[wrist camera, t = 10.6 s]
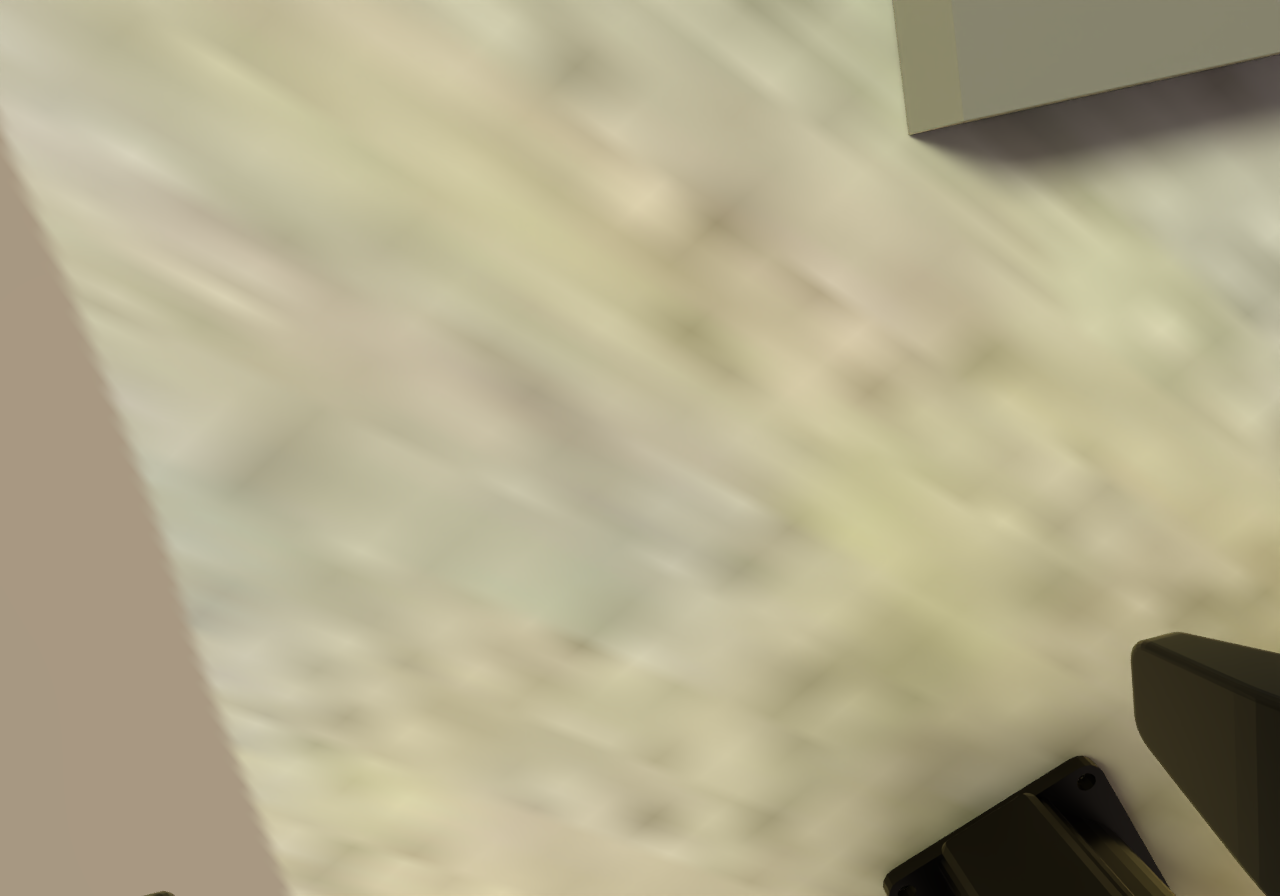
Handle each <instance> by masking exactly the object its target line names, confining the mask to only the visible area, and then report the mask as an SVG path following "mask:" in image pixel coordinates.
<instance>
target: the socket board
mask: <svg viewBox="0 0 1280 896" xmlns="http://www.w3.org/2000/svg"><path fill="white" fill-rule="evenodd" d="M893 9H894V17H895V25H896V33H897V42H898V50H899V58H900V67H901V75H902V83H903V92H904V100H905V108H906V117H907V125H908V133H909V135H912V134H917V133H921V132H926V131H930V130H935V129H940V128H944V127H949V126H953V125H958V124H962V123H967V122H972V121H976V120H981V119H985V118H990V117H994V116H999V115H1004V114H1008V113H1013V112H1017V111H1022V110H1026V109H1031V108H1036V107H1040V106H1045V105H1049V104H1054V103H1058V102H1063V101H1068V100H1072V99H1077V98H1081V97H1086V96H1090V95H1095V94H1100V93H1104V92H1109V91H1113V90H1118V89H1122V88H1127V87H1132V86H1136V85H1141V84H1145V83H1150V82H1154V81H1159V80H1164V79H1168V78H1173V77H1177V76H1182V75H1186V74H1191V73H1196V72H1200V71H1205V70H1209V69H1214V68H1218V67H1223V66H1228V65H1232V64H1237V63H1241V62H1246V61H1250V60H1255V59H1260V58H1264V57H1269V56H1273V55H1278V54H1280V0H893Z"/></svg>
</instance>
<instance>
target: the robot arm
mask: <svg viewBox="0 0 1280 896" xmlns="http://www.w3.org/2000/svg"><path fill="white" fill-rule="evenodd" d="M1131 670H1132V686H1133V701H1134V716H1135V721H1136V725H1137V728H1138V731H1139V733H1140V736H1141V737H1142V739H1143V741H1144V743H1145V744H1146V746H1147V747H1148V748H1149V750H1150V751H1151V752H1152V753H1153V755H1154V756H1155V757H1156V759H1157V760H1158V761H1159V762H1160V764H1161V765H1162V766H1163V767H1164V769H1165V770H1166V771H1167V773H1168V774H1169V775H1170V776H1171V778H1172V779H1173V780H1174V781H1175V783H1176V784H1177V785H1178V787H1179V788H1180V789H1181V790H1182V792H1183V793H1184V794H1185V795H1186V797H1187V798H1188V799H1189V801H1190V802H1191V803H1192V804H1193V806H1194V807H1195V808H1196V809H1197V811H1198V812H1199V813H1200V815H1201V816H1202V817H1203V818H1204V820H1205V821H1206V822H1207V824H1208V825H1209V826H1210V827H1211V829H1212V830H1213V831H1214V832H1215V834H1216V835H1217V836H1218V838H1219V839H1220V840H1221V841H1222V843H1223V844H1224V845H1225V846H1226V848H1227V849H1228V850H1229V852H1230V853H1231V854H1232V855H1233V857H1234V858H1235V859H1236V860H1237V862H1238V863H1239V864H1240V865H1241V867H1242V868H1243V869H1244V870H1245V871H1246V873H1247V874H1248V875H1249V876H1250V877H1251V879H1252V880H1253V881H1254V882H1255V883H1256V885H1257V886H1258V887H1259V888H1260V889H1261V890H1262V892H1263V893H1264V894H1265V895H1266V896H1280V654H1279V653H1275V652H1270V651H1265V650H1261V649H1256V648H1252V647H1247V646H1242V645H1238V644H1233V643H1229V642H1224V641H1220V640H1215V639H1210V638H1206V637H1201V636H1197V635H1192V634H1188V633H1182V632H1173V633H1168V634H1165V635H1161V636H1157V637H1153V638H1149V639H1145V640H1142V641H1139V642H1138V643H1137V644H1136V645H1135V646H1134V647H1133V649H1132V652H1131ZM1084 774H1085V776H1084V777H1083V778H1082V779H1081V780H1078V779H1079V778H1080V777H1081V776H1082V775H1084ZM907 885H909V886H908V887H907V888H906V889H904V890H901V891H900V889H901V888H902V887H904V886H907ZM883 888H884V890H885V893H886V895H887V896H1176V895H1175V894H1174V893H1173V892H1172V891H1171V890H1170V888H1169V886H1168V885H1167V883H1166V881H1165V879H1164V878H1163V876H1162V874H1161V872H1160V871H1159V869H1158V867H1157V865H1156V864H1155V862H1154V860H1153V858H1152V857H1151V855H1150V853H1149V851H1148V850H1147V848H1146V846H1145V845H1144V843H1143V841H1142V839H1141V838H1140V836H1139V834H1138V832H1137V831H1136V829H1135V827H1134V825H1133V824H1132V822H1131V820H1130V818H1129V817H1128V815H1127V813H1126V811H1125V810H1124V808H1123V806H1122V804H1121V803H1120V801H1119V799H1118V797H1117V796H1116V794H1115V792H1114V790H1113V789H1112V787H1111V785H1110V783H1109V782H1108V780H1107V778H1106V776H1105V775H1104V773H1103V771H1102V770H1101V769H1100V768H1099V767H1098V766H1097V765H1096V764H1095V763H1094V762H1093V761H1092V760H1091V759H1090V758H1087V757H1084V756H1076V757H1074V758H1072V759H1069V760H1068V761H1066V762H1064V763H1063V764H1061V765H1060V766H1058V767H1056V768H1055V769H1053V770H1052V771H1050V772H1048V773H1047V774H1045V775H1044V776H1042V777H1040V778H1039V779H1037V780H1036V781H1034V782H1032V783H1031V784H1029V785H1028V786H1026V787H1024V788H1023V789H1021V790H1020V791H1018V792H1016V793H1015V794H1013V795H1012V796H1010V797H1008V798H1007V799H1005V800H1004V801H1002V802H1000V803H999V804H997V805H996V806H994V807H992V808H991V809H989V810H988V811H986V812H984V813H983V814H981V815H980V816H978V817H976V818H975V819H973V820H972V821H970V822H968V823H967V824H965V825H963V826H962V827H960V828H959V829H957V830H955V831H954V832H952V833H951V834H949V835H947V836H946V837H944V838H943V839H941V840H939V841H938V842H936V843H935V844H933V845H931V846H930V847H928V848H927V849H925V850H923V851H922V852H920V853H919V854H917V855H915V856H914V857H912V858H911V859H909V860H907V861H906V862H904V863H903V864H901V865H899V866H898V867H896V868H895V869H893V870H892V871H891V872H889V873H888V874H887V875H886V877H885V879H884V882H883ZM145 896H174V895H173V894H172V893H170V892H166V891H161V892H157V893H153V894H149V895H145Z"/></svg>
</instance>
